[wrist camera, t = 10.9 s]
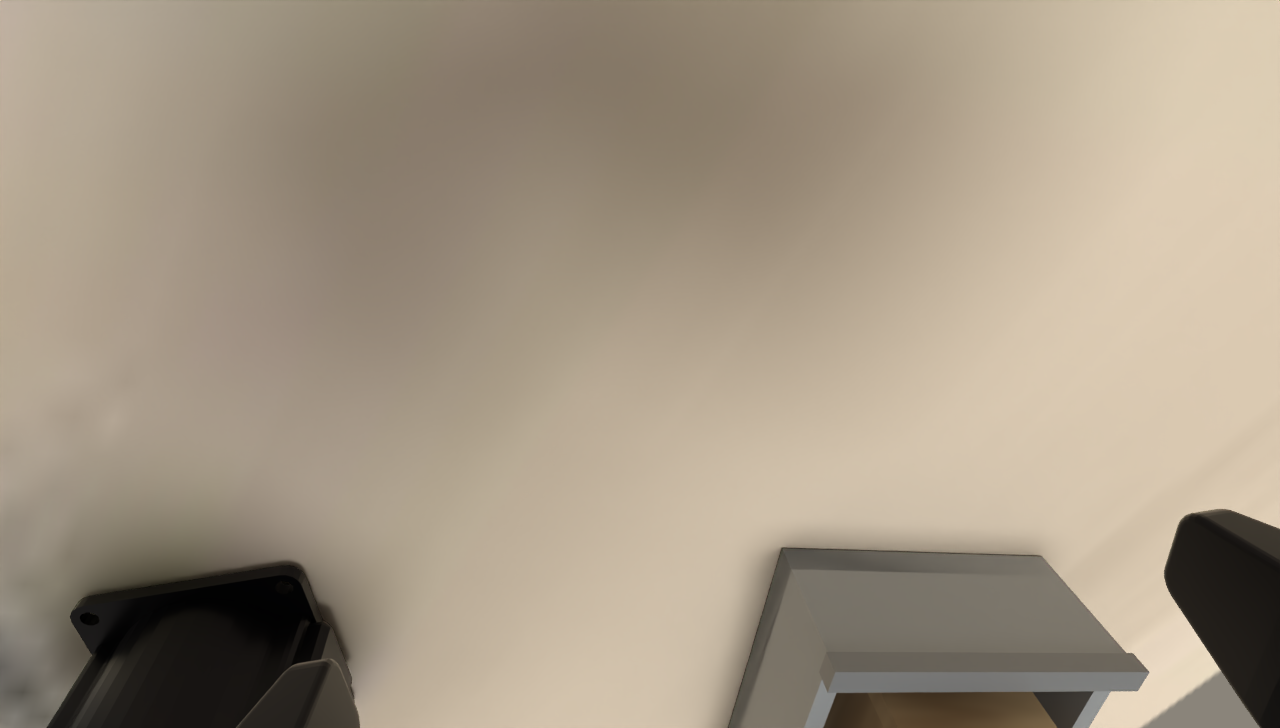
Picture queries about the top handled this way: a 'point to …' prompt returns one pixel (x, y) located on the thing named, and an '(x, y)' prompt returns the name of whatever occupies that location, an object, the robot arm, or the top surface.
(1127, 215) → the top surface
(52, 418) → the top surface
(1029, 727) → the small crate
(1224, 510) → the robot arm
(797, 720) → the large crate
